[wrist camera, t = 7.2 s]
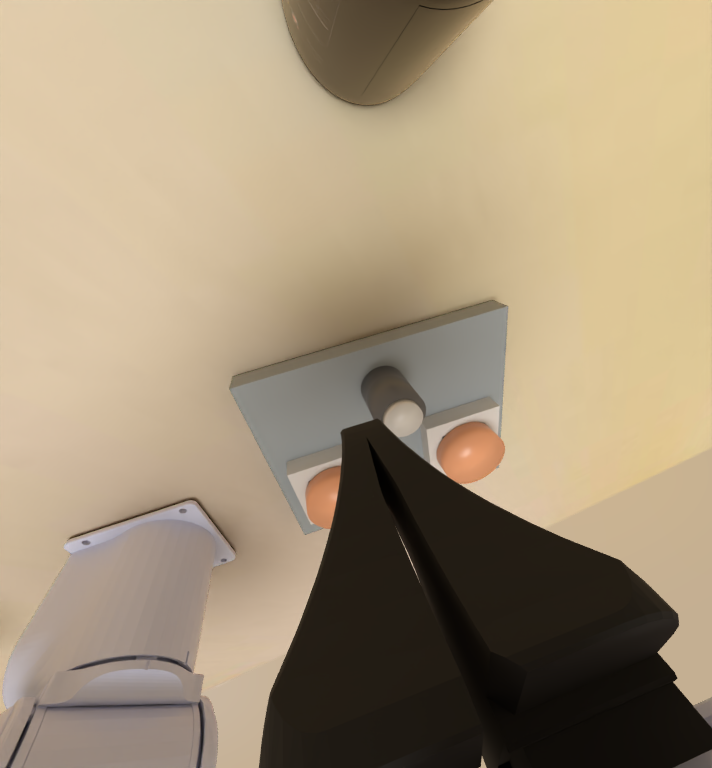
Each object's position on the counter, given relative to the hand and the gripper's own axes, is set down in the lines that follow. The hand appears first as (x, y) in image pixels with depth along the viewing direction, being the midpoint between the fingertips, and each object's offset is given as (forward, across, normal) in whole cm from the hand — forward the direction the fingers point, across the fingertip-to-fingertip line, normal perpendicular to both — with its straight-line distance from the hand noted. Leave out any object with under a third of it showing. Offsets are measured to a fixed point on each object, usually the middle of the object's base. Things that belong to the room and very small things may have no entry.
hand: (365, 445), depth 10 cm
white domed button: (+9, -3, +4) cm, 10 cm away
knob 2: (+10, -8, +10) cm, 16 cm away
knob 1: (+10, +2, +10) cm, 15 cm away
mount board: (+10, -3, +8) cm, 13 cm away
